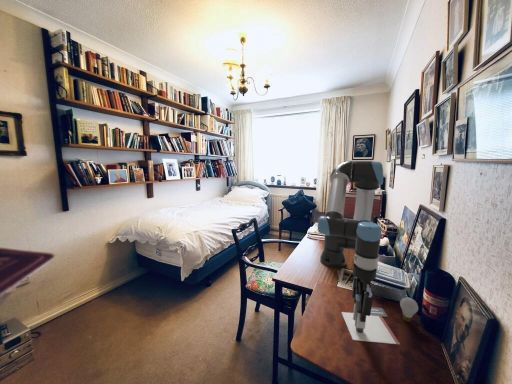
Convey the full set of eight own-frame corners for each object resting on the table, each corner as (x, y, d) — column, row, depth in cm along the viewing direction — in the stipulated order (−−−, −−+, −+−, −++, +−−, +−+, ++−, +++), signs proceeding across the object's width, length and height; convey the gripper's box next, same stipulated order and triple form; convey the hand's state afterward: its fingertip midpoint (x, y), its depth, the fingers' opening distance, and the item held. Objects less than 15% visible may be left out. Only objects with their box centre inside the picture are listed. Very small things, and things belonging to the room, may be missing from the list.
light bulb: (398, 313, 91) (401, 292, 89) (416, 320, 87) (419, 298, 85) (397, 321, 86) (400, 299, 85) (415, 329, 83) (418, 306, 81)
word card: (365, 307, 94) (365, 306, 94) (381, 308, 94) (382, 307, 94) (370, 315, 89) (370, 314, 89) (387, 317, 89) (387, 316, 89)
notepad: (341, 312, 91) (341, 311, 91) (380, 315, 89) (380, 315, 89) (352, 340, 77) (353, 339, 77) (399, 344, 76) (400, 343, 76)
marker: (353, 326, 83) (354, 293, 81) (361, 326, 83) (363, 293, 81) (357, 333, 80) (358, 299, 77) (366, 333, 80) (367, 299, 77)
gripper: (346, 254, 85) (341, 307, 89) (363, 277, 69) (356, 340, 73) (366, 256, 85) (360, 309, 88) (387, 278, 69) (379, 342, 73)
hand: (358, 323), depth 81 cm, fingers closed on marker, 3 cm apart
